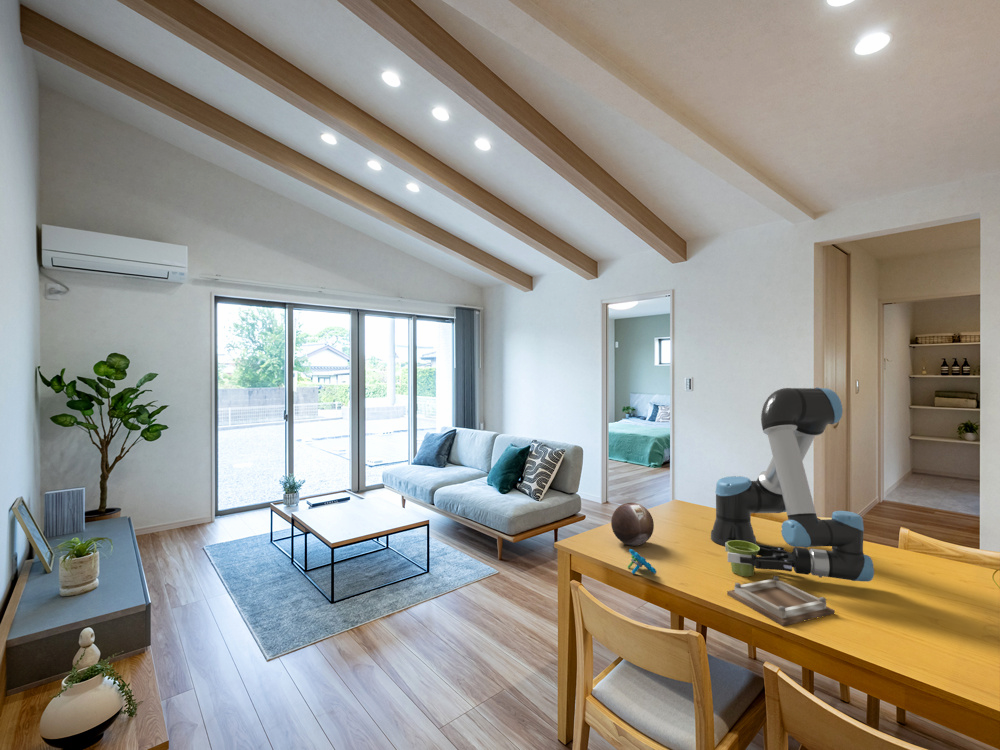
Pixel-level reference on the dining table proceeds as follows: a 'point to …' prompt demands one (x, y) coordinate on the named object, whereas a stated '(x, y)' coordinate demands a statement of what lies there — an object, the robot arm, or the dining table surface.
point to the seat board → (780, 601)
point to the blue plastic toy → (639, 562)
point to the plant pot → (742, 548)
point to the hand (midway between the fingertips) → (726, 551)
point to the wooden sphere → (632, 524)
